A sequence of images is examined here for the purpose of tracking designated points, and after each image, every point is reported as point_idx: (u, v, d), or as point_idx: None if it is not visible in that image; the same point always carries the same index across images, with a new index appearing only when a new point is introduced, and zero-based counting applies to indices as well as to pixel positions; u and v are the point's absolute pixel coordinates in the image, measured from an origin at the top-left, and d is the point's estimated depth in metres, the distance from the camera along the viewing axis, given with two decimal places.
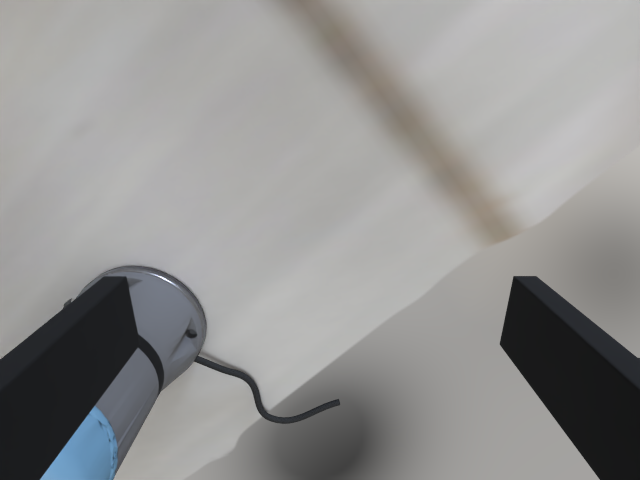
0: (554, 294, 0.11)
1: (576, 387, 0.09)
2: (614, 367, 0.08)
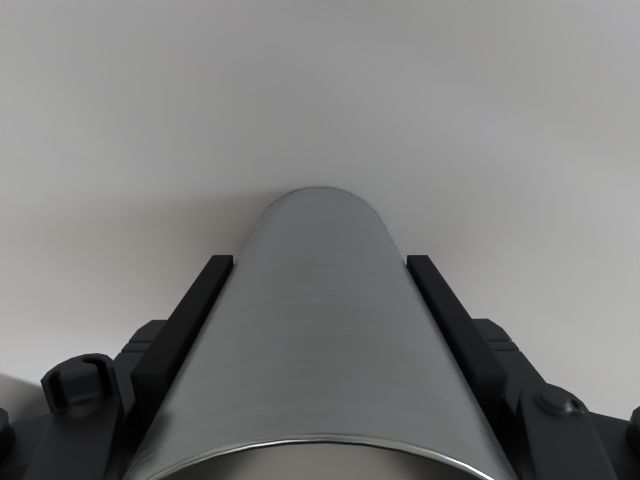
0: (433, 269, 0.13)
1: None
2: (446, 322, 0.10)
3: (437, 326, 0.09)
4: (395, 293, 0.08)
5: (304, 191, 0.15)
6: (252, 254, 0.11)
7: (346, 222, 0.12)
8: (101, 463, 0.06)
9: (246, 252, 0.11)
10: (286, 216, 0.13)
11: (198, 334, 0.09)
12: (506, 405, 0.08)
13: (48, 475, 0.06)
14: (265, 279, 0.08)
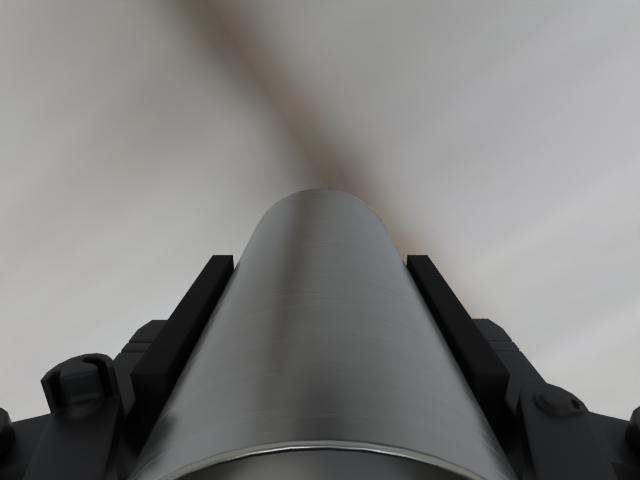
0: (433, 269, 0.13)
1: None
2: (446, 322, 0.10)
3: None
4: (396, 296, 0.08)
5: (305, 193, 0.15)
6: (253, 257, 0.11)
7: (347, 225, 0.12)
8: (101, 463, 0.06)
9: (247, 254, 0.11)
10: (287, 218, 0.13)
11: None
12: (506, 405, 0.08)
13: (48, 475, 0.06)
14: (266, 282, 0.08)
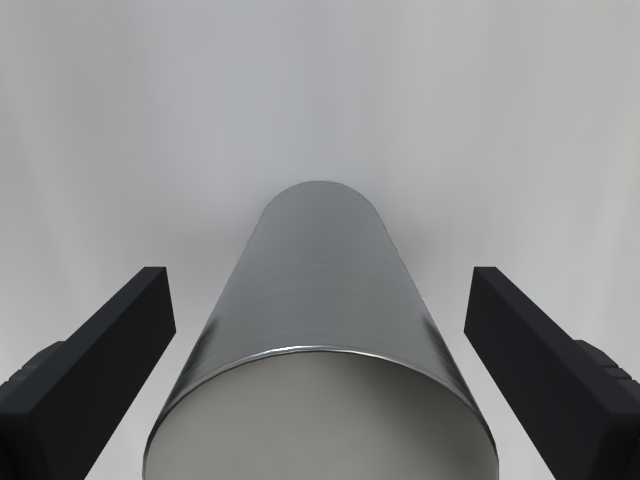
0: (508, 283, 0.12)
1: (520, 367, 0.10)
2: (548, 346, 0.09)
3: (419, 294, 0.10)
4: (382, 264, 0.10)
5: (306, 184, 0.17)
6: (261, 236, 0.12)
7: (343, 210, 0.13)
8: None
9: (255, 236, 0.13)
10: (290, 205, 0.14)
11: (218, 300, 0.10)
12: None
13: None
14: (274, 253, 0.10)
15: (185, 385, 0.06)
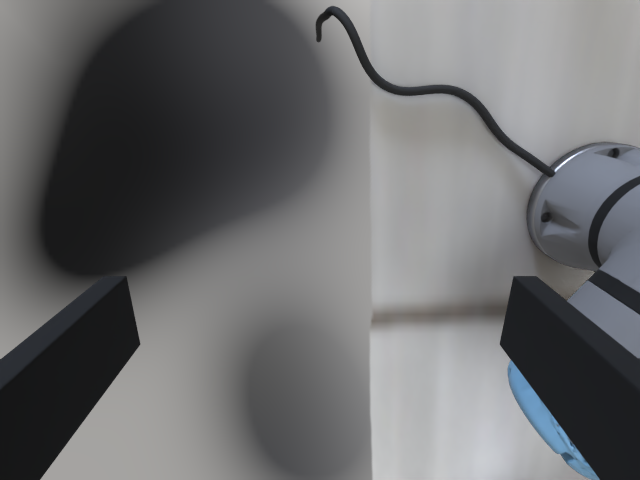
0: (554, 294, 0.11)
1: (576, 387, 0.09)
2: (614, 367, 0.08)
3: None
4: None
5: None
6: None
7: None
8: None
9: None
10: None
11: None
12: None
13: None
14: None
15: None
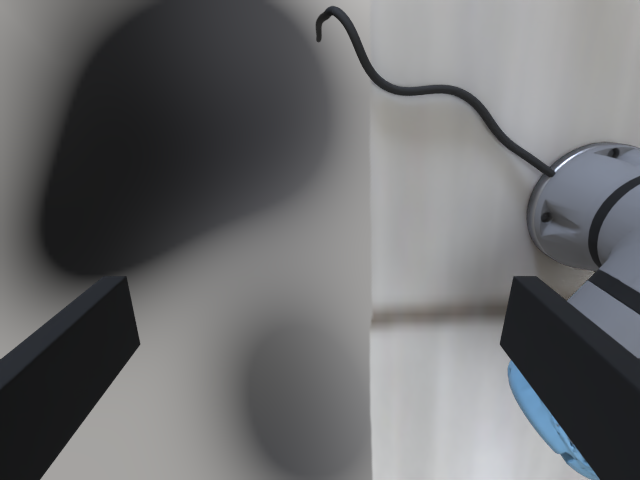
0: (554, 294, 0.11)
1: (576, 387, 0.09)
2: (614, 367, 0.08)
3: None
4: None
5: None
6: None
7: None
8: None
9: None
10: None
11: None
12: None
13: None
14: None
15: None
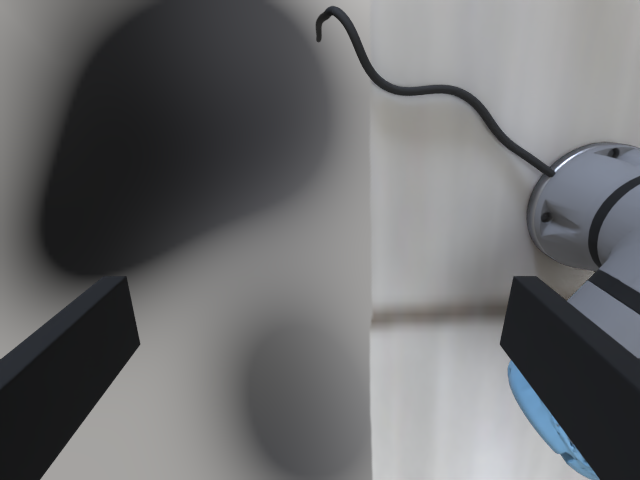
0: (554, 294, 0.11)
1: (576, 387, 0.09)
2: (614, 367, 0.08)
3: None
4: None
5: None
6: None
7: None
8: None
9: None
10: None
11: None
12: None
13: None
14: None
15: None
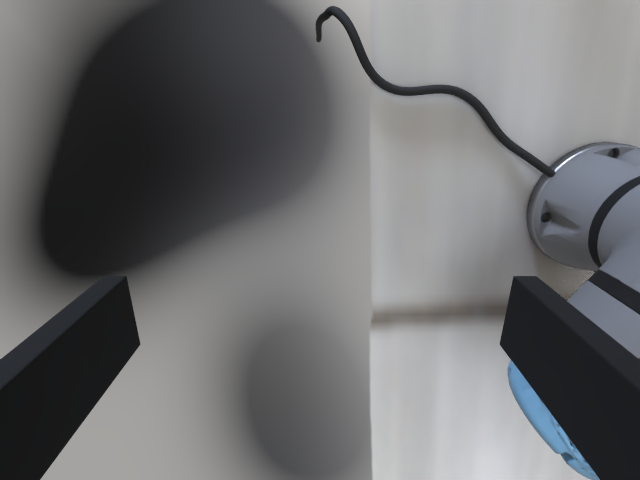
0: (554, 294, 0.11)
1: (576, 387, 0.09)
2: (614, 367, 0.08)
3: None
4: None
5: None
6: None
7: None
8: None
9: None
10: None
11: None
12: None
13: None
14: None
15: None
